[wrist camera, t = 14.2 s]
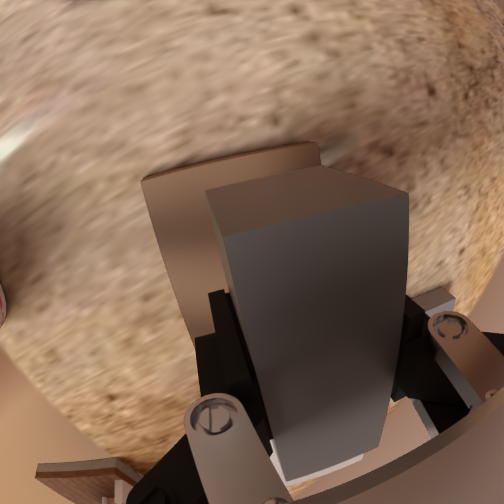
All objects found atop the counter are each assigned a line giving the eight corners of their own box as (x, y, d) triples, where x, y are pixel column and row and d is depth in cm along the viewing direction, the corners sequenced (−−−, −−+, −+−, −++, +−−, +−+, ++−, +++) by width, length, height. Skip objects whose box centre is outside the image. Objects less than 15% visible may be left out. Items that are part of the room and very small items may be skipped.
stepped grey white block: (143, 206, 8) (115, 264, 5) (370, 157, 9) (464, 181, 5) (255, 487, 15) (271, 538, 12) (358, 453, 16) (383, 497, 13)
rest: (143, 177, 14) (140, 181, 13) (308, 141, 15) (318, 142, 14) (225, 413, 22) (227, 425, 21) (328, 381, 23) (334, 392, 22)
